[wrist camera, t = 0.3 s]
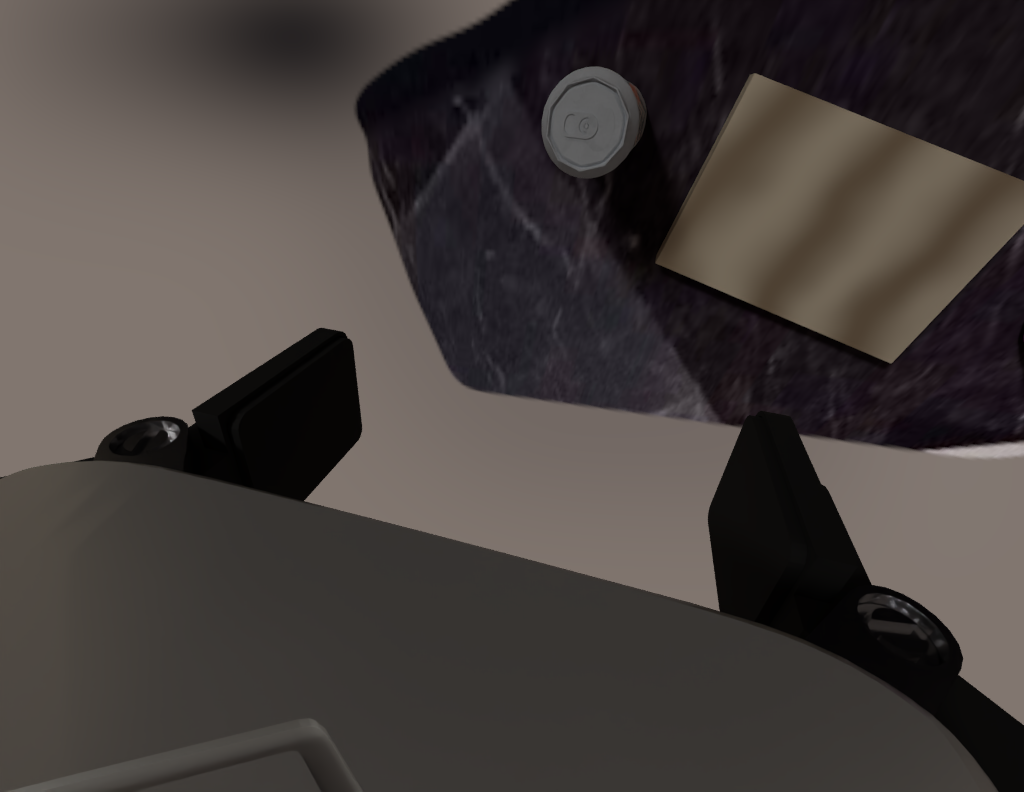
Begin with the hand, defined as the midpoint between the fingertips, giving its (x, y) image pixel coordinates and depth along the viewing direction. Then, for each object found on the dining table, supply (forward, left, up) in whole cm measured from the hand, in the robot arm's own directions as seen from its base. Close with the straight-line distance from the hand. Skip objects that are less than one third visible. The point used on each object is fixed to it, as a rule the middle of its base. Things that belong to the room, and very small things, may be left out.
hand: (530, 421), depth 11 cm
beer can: (+3, -5, -29) cm, 30 cm away
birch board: (-13, -4, -29) cm, 32 cm away
